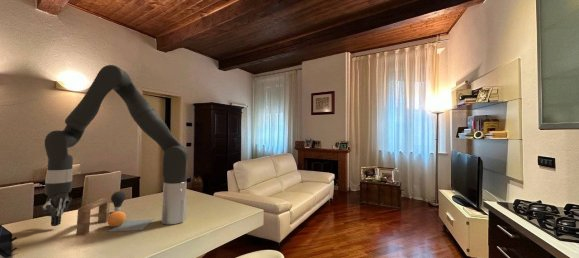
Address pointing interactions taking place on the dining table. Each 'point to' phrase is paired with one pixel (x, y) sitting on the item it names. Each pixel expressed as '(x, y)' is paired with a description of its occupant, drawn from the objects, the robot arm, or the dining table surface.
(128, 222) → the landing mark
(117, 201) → the light bulb
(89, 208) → the bridge
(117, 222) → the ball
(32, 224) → the dining table surface
